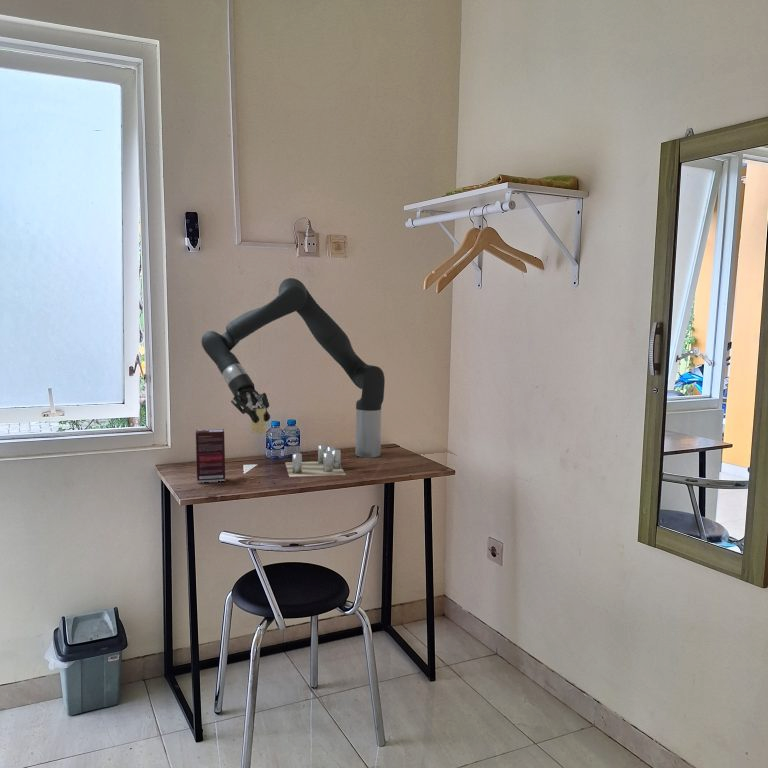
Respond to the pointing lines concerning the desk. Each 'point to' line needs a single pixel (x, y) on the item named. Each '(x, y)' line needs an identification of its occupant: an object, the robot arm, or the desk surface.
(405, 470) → the desk surface
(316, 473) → the board
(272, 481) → the desk surface
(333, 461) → the posts
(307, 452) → the desk surface
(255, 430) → the tan faceted block
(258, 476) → the desk surface
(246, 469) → the off-white mat
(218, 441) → the supplement box
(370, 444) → the robot arm
